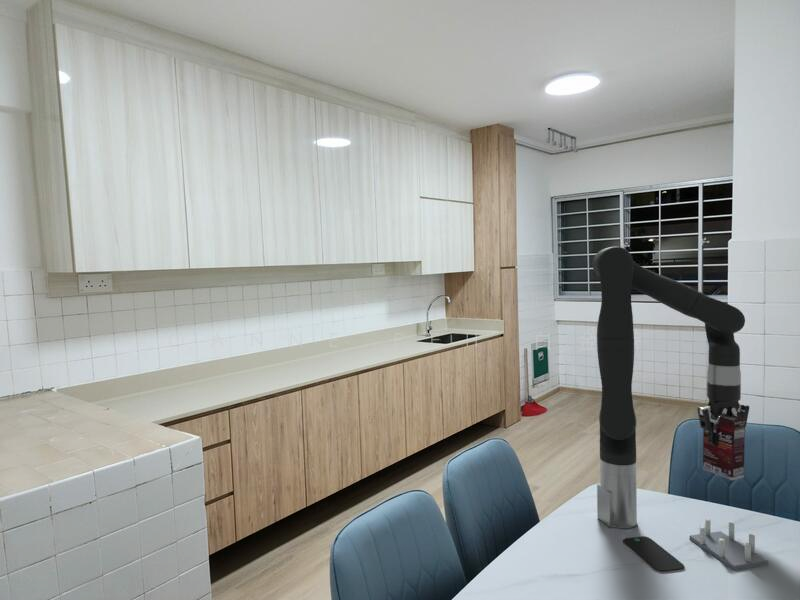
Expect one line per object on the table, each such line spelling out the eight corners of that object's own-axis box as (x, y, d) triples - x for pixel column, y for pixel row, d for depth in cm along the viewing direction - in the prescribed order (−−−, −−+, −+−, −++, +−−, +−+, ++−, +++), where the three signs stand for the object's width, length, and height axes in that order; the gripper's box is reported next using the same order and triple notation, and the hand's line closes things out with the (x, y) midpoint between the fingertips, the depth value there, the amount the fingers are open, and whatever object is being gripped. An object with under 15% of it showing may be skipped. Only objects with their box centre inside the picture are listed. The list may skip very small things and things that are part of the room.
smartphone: (647, 535, 134) (688, 567, 119) (647, 538, 134) (688, 571, 119) (620, 538, 133) (658, 571, 118) (620, 541, 133) (658, 575, 118)
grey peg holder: (733, 570, 119) (733, 548, 118) (688, 539, 132) (688, 520, 132) (768, 564, 120) (768, 543, 120) (721, 534, 134) (721, 516, 134)
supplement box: (701, 469, 141) (702, 411, 140) (714, 466, 143) (714, 409, 142) (732, 481, 133) (733, 420, 132) (745, 478, 135) (746, 417, 134)
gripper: (735, 376, 141) (735, 437, 142) (689, 380, 139) (688, 442, 140) (759, 382, 134) (758, 446, 135) (710, 386, 131) (710, 451, 132)
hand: (723, 444), depth 137 cm, fingers closed on supplement box, 5 cm apart
